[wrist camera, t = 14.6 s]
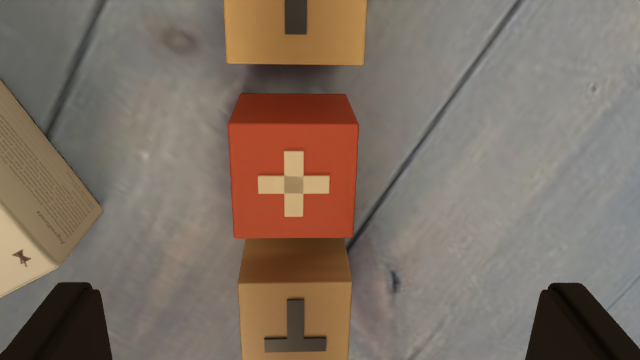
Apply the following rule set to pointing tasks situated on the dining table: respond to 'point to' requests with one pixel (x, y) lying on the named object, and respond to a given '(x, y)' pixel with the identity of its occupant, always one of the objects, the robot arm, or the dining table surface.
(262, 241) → the wooden letter t cube
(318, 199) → the red cross cube
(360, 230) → the dining table surface
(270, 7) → the line block
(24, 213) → the small box
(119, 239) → the dining table surface
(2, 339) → the dining table surface
